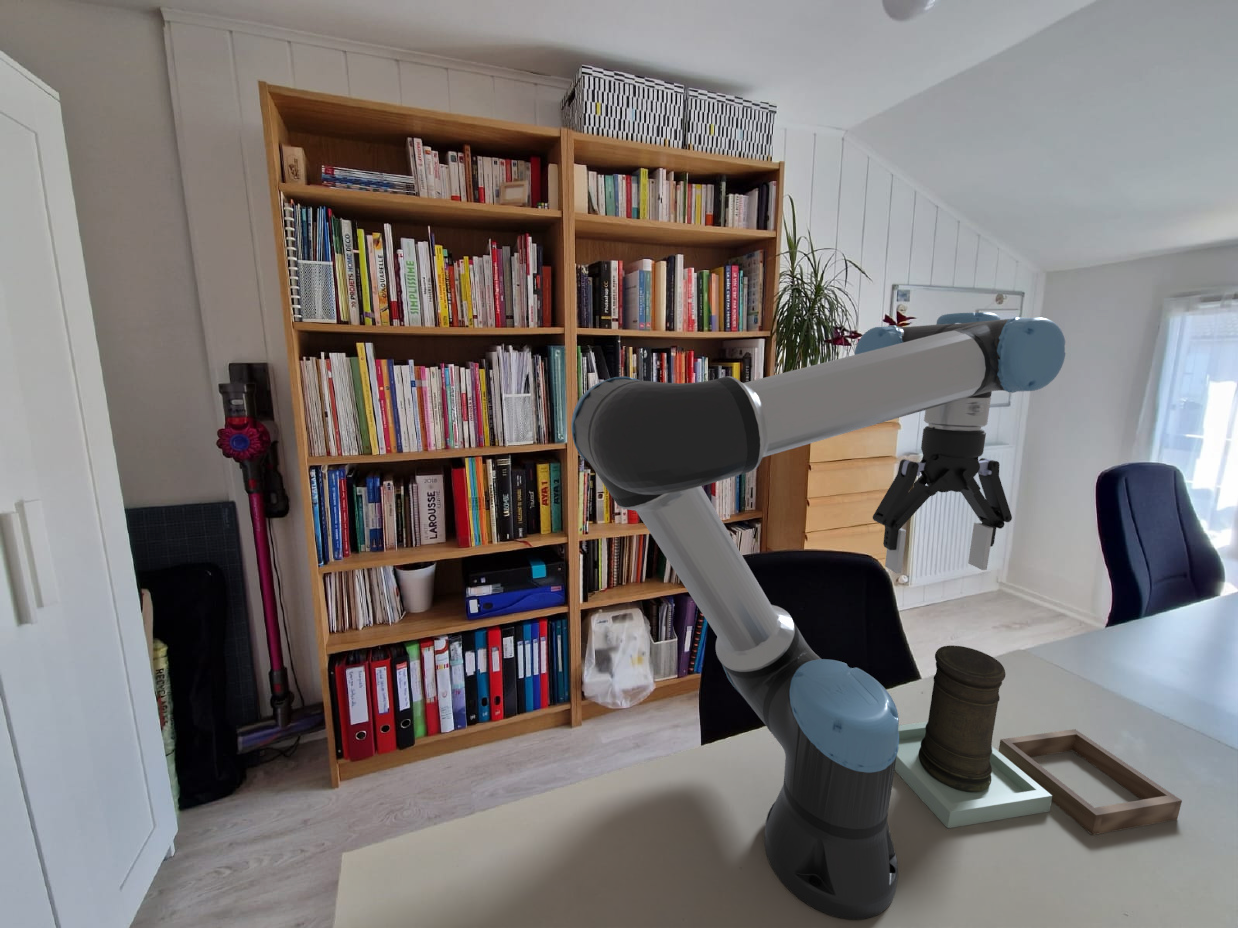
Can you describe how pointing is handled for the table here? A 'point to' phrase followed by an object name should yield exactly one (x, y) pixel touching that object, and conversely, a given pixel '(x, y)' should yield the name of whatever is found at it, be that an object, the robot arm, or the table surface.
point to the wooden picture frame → (1106, 818)
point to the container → (962, 718)
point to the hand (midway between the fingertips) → (935, 568)
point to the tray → (959, 808)
